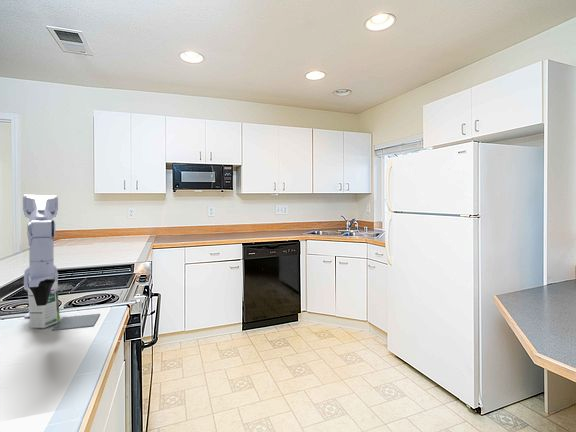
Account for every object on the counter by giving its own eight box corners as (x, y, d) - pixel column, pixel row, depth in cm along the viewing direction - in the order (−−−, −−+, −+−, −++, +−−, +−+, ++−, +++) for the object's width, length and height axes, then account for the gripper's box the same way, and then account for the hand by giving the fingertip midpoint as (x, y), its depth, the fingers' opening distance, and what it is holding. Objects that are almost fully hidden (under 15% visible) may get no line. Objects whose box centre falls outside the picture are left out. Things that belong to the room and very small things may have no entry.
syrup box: (44, 328, 101) (41, 284, 101) (29, 327, 103) (27, 283, 102) (60, 322, 107) (58, 280, 107) (46, 321, 108) (43, 279, 108)
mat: (62, 318, 112) (62, 317, 112) (99, 314, 116) (99, 313, 116) (52, 330, 101) (52, 329, 101) (93, 326, 105) (93, 325, 105)
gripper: (50, 263, 89) (50, 311, 89) (64, 255, 102) (64, 297, 102) (19, 265, 86) (19, 314, 86) (37, 256, 99) (37, 299, 100)
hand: (41, 305), depth 94 cm, fingers closed
